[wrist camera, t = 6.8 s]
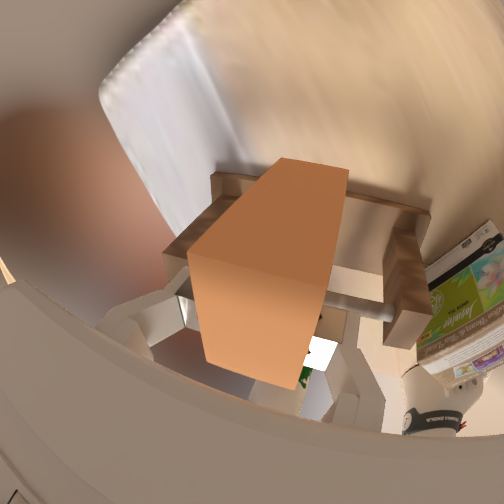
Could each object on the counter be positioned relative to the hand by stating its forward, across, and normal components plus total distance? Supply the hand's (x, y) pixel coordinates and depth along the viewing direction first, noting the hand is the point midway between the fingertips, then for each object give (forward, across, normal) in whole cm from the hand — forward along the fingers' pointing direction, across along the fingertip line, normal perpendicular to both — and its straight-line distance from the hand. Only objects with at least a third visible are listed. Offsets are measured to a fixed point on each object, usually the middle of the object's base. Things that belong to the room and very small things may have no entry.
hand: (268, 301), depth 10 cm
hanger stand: (+24, -1, -10) cm, 26 cm away
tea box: (+25, +22, -11) cm, 35 cm away
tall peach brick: (+8, 0, 0) cm, 8 cm away
